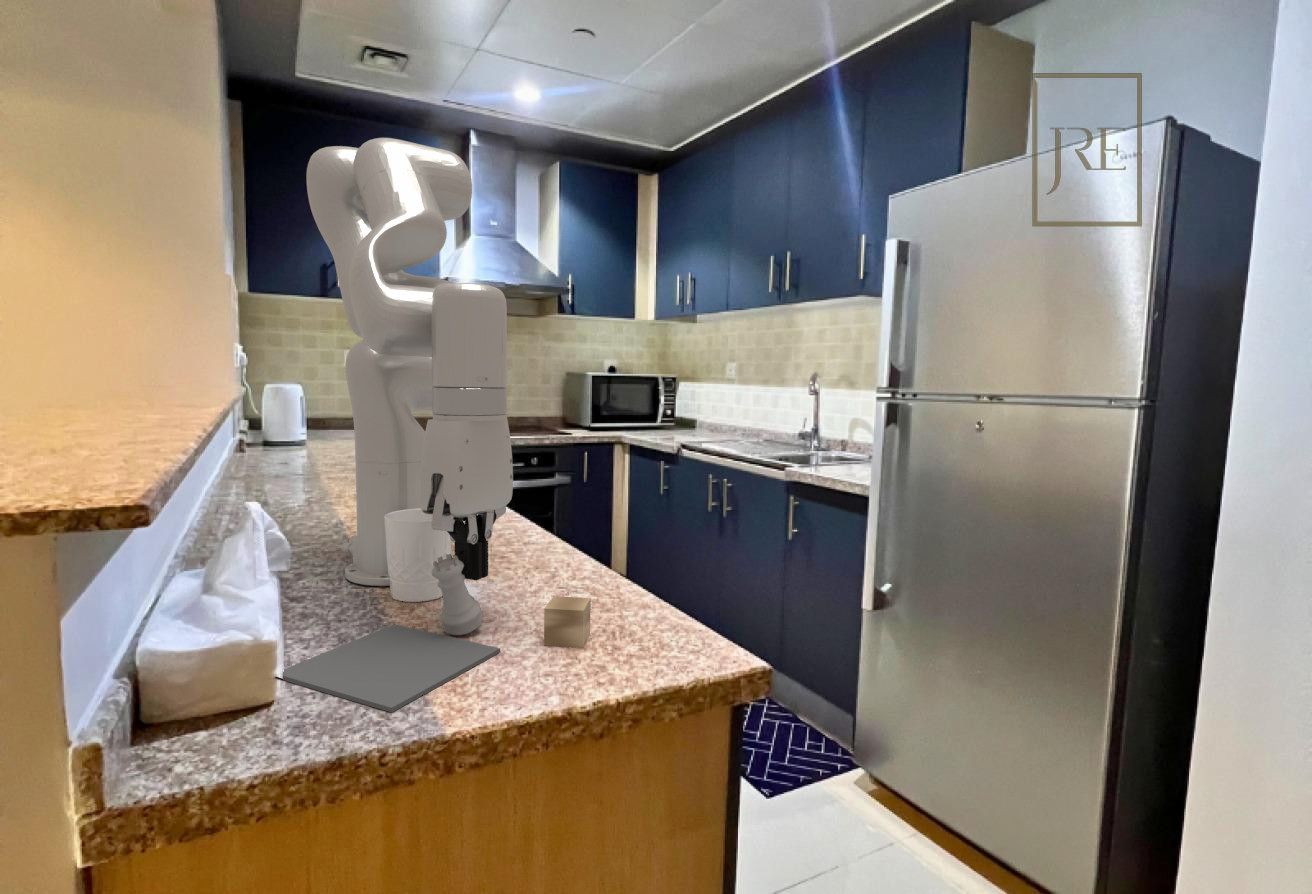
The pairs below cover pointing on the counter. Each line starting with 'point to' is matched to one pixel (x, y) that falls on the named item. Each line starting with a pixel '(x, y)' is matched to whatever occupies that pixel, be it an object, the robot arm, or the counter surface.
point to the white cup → (414, 554)
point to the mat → (389, 666)
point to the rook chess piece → (456, 598)
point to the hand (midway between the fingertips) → (471, 576)
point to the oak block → (567, 622)
